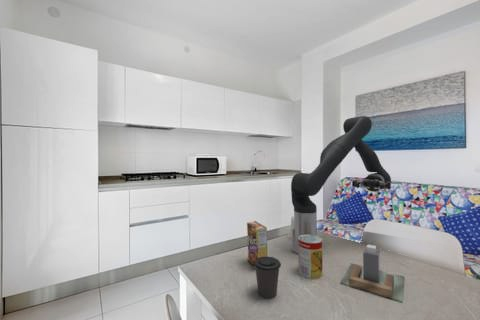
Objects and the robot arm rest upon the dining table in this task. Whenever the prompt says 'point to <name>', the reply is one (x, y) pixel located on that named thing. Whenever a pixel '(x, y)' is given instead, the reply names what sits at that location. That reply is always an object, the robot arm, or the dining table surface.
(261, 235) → the candy box
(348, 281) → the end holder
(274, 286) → the coffee cup
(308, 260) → the canned food
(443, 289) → the dining table surface
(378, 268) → the connector plug
